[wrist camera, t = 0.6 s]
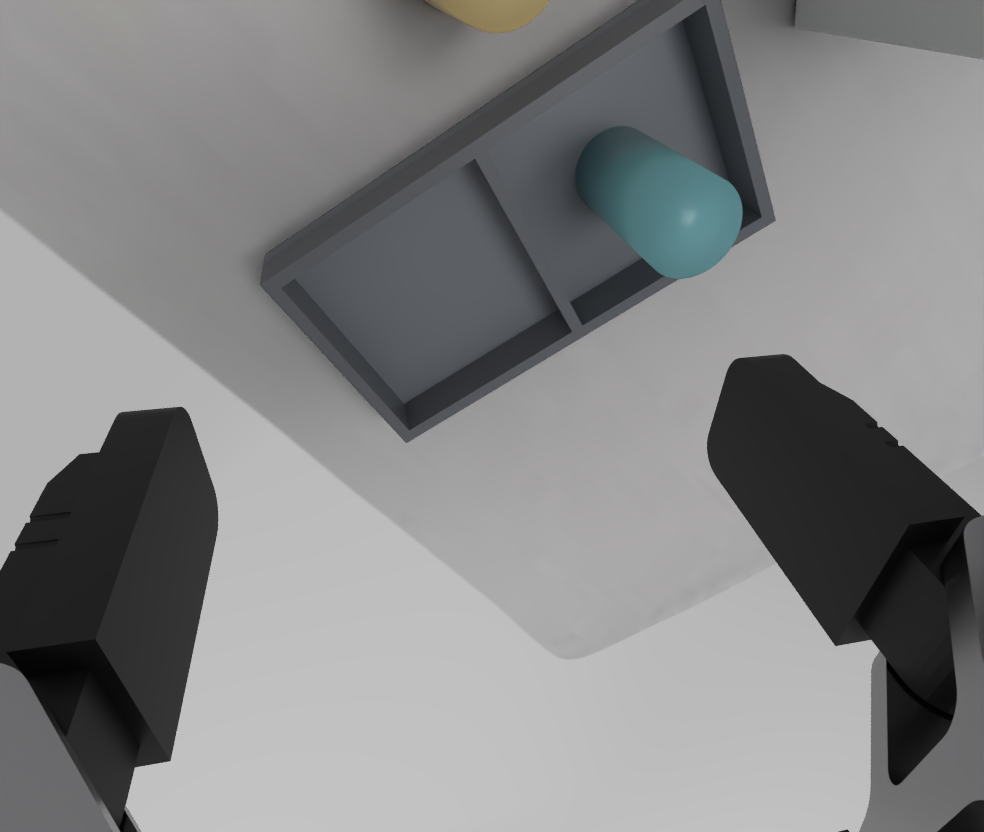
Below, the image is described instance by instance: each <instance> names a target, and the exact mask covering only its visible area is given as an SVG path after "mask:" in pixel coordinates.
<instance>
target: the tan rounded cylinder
mask: <svg viewBox="0 0 984 832" xmlns="http://www.w3.org/2000/svg"><path fill="white" fill-rule="evenodd" d="M424 1H425V2H426V3H428V4H429V5H431V6H432V7H434V8H436V9H438V10H440V11H442V12H444V13H446V14H448V15H450V16H452V17H454V18H456V19H458V20H460V21H462V22H464V23H466V24H468V25H470V26H472V27H474V28H476V29H479V30H481V31H485V32H490V33H503V32H509V31H513V30H516V29H518V28H521V27H523V26H524V25H526V24H528V23H529V22H531V21H532V20H533V19H534V18H536V17H537V16H538V15H539V14H540V13H541V12H542V11H543V9H544V8H545V7H546V5H547V4H548V3H549V1H550V0H424Z"/></svg>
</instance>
